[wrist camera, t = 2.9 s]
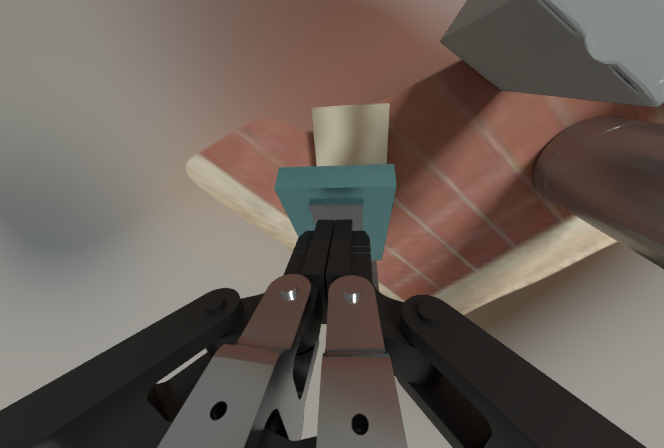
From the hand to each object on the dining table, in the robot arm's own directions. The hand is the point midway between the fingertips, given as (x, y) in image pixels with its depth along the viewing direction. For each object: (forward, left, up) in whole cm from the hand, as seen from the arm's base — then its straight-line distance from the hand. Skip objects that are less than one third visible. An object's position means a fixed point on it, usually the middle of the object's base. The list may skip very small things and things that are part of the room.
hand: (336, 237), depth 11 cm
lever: (0, +6, -11) cm, 12 cm away
